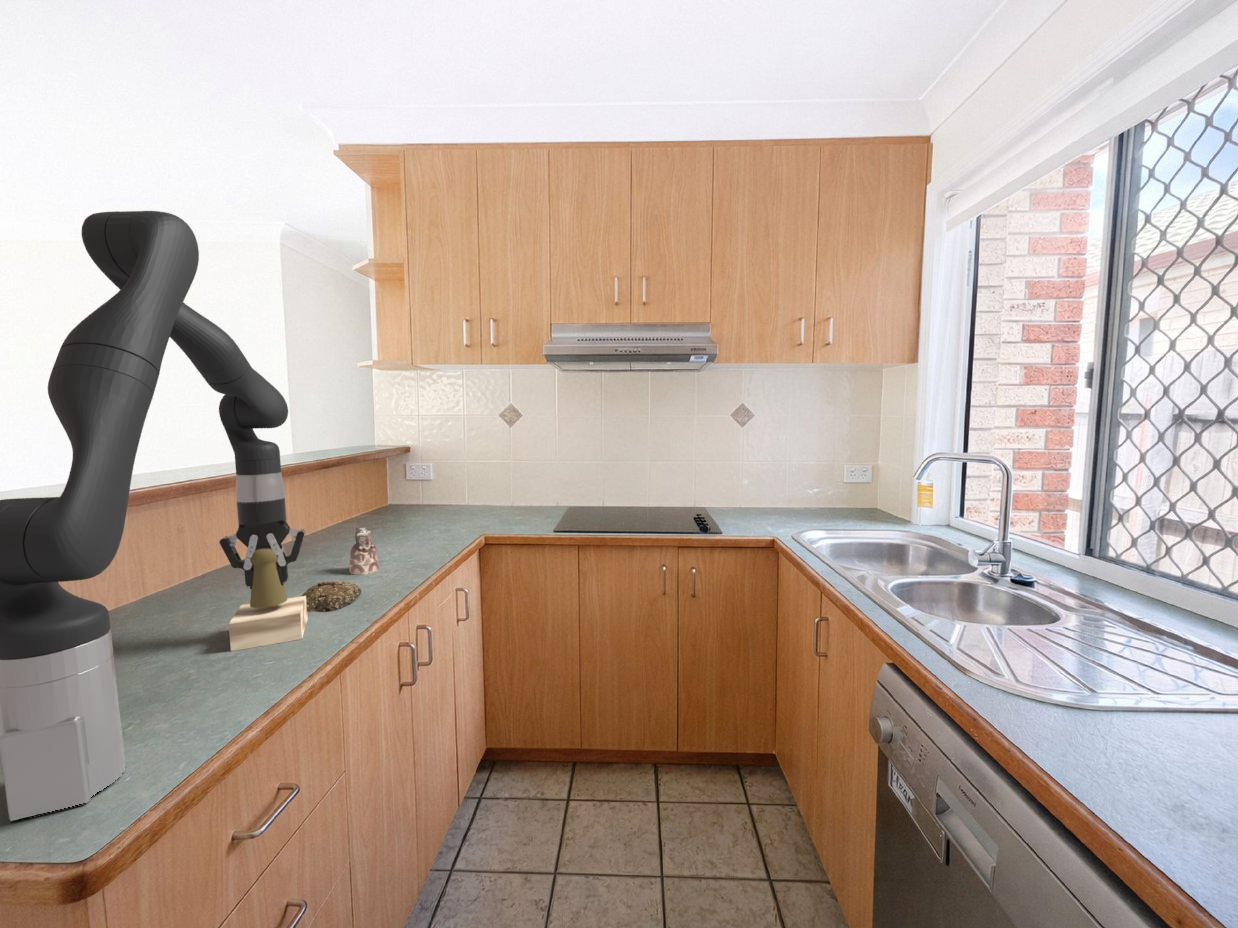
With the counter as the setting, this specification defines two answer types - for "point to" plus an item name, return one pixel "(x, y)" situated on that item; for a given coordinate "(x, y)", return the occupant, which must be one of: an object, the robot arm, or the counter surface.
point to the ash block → (268, 624)
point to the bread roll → (331, 595)
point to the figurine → (363, 553)
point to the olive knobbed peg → (266, 580)
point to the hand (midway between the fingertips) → (267, 585)
